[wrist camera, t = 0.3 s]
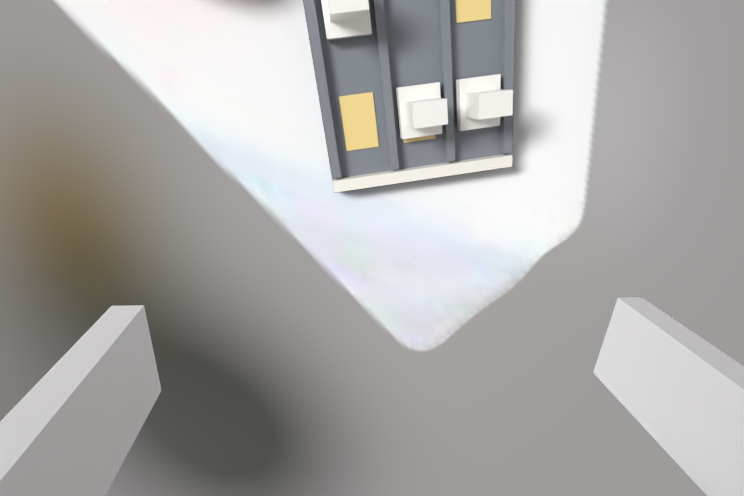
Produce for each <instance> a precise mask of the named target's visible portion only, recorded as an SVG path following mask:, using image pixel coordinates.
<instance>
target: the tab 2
mask: <svg viewBox="0 0 744 496" xmlns="http://www.w3.org/2000/svg"><path fill="white" fill-rule="evenodd" d="M396 95H397V106H398V117H399V128H400V138H401V139H408V138H415V137H422V136H429V135H436V134H442V125H445V124H448V110H447V99H446V98H441V96H440V82H435V83H427V84H420V85H412V86H405V87H397V88H396Z"/></svg>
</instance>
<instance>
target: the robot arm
mask: <svg viewBox="0 0 744 496" xmlns="http://www.w3.org/2000/svg"><path fill="white" fill-rule="evenodd" d="M594 374H595V375H596V376H597V377H598V378H599V379H600V380H601V382H602V383H603V384H604V385H605V386H606V387H607V388H608V389H609V390H610V391H611V392H612V393H613V394H614V396H615V397H616V398H617V399H618V400H619V401H620V402H621V403H622V404H623V405H624V406H625V407H626V408H627V409H628V411H629V412H630V413H631V414H632V415H633V416H634V417H635V418H636V419H637V420H638V421H639V423H640V424H641V425H642V426H643V427H644V428H645V429H646V430H647V431H648V432H649V433H650V434H651V435H652V437H653V438H654V439H655V440H656V441H657V442H658V443H659V444H660V445H661V446H662V447H663V448H664V449H665V451H666V452H667V453H668V454H669V455H670V456H671V457H672V458H673V459H674V460H675V461H676V462H677V463H678V465H679V466H680V467H681V468H682V469H683V470H684V471H685V472H686V473H687V474H688V475H689V476H690V478H692V480H693V481H694V482H695V483H696V484H697V485H698V486H699V487H700V488H701V489H702V490H703V491H704V493H705V494H706V495H707V496H744V366H743V365H741V364H740V363H738V362H737V361H735V360H734V359H732V358H731V357H729V356H728V355H726V354H725V353H723V352H722V351H720V350H719V349H718V348H716V347H714V346H713V345H712V344H710V343H709V342H707V341H706V340H704V339H702V338H701V337H700V336H698V335H697V334H695V333H694V332H692V331H691V330H689V329H688V328H686V327H685V326H683V325H682V324H680V323H679V322H678V321H676V320H674V319H673V318H672V317H670V316H669V315H667V314H666V313H664V312H663V311H661V310H660V309H658V308H657V307H655V306H654V305H652V304H651V303H649V302H648V301H646V300H645V299H643V298H642V297H632V298H631V297H626V298H618V299H617V302H616V305H615V308H614V311H613V314H612V317H611V321H610V323H609V326H608V329H607V332H606V335H605V338H604V342H603V345H602V348H601V351H600V354H599V357H598V360H597V363H596V366H595V369H594ZM160 392H161V387H160V381H159V377H158V372H157V367H156V362H155V357H154V352H153V347H152V343H151V338H150V333H149V328H148V323H147V318H146V314H145V309H144V305H140V306H111V307H110V308H109V309H108V310H107V311H106V312H105V313H104V315H102V317H100V319H99V320H98V321H97V322H96V323H95V324H94V325H93V326H92V327H91V328H90V329H89V330H88V331H87V332H86V333H85V334H84V335H83V336H82V337H81V338H80V339H79V340H78V341H77V342H76V344H75V345H74V346H73V347H72V348H71V349H70V350H69V351H68V352H67V353H66V354H65V355H64V356H63V357H62V358H61V359H60V360H59V361H58V362H57V363H56V364H55V365H54V366H53V367H52V368H51V370H50V371H49V372H48V373H47V374H46V375H45V376H44V377H43V378H42V379H41V380H40V381H39V382H38V383H37V384H36V385H35V386H34V387H33V388H32V389H31V390H30V391H29V392H28V393H27V395H26V396H24V398H23V399H22V400H21V401H20V402H19V403H18V404H17V405H16V406H15V407H14V408H13V409H12V410H11V411H10V412H9V413H8V414H7V415H6V416H5V417H4V418H3V419H2V420H1V422H0V496H105V495H106V493H107V491H108V489H109V487H110V485H111V484H112V482H113V480H114V478H115V476H116V474H117V472H118V470H119V469H120V467H121V464H122V463H123V461H124V459H125V457H126V455H127V454H128V452H129V450H130V448H131V446H132V444H133V442H134V441H135V439H136V437H137V435H138V433H139V431H140V429H141V427H142V425H143V424H144V422H145V420H146V418H147V416H148V414H149V412H150V411H151V409H152V407H153V405H154V403H155V401H156V399H157V398H158V396H159V394H160Z"/></svg>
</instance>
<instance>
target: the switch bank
mask: <svg viewBox="0 0 744 496" xmlns="http://www.w3.org/2000/svg"><path fill="white" fill-rule="evenodd" d="M368 1H369V11H370V20H371V29H372V34H371V35H366V36H358V37H350V38H343V39H335V40H327V38H326V31H325V24H324V17H323V11H322V4H321V0H303V3H304V9H305V15H306V22H307V28H308V34H309V40H310V46H311V52H312V58H313V64H314V70H315V77H316V83H317V89H318V95H319V101H320V107H321V113H322V119H323V125H324V132H325V138H326V144H327V150H328V156H329V162H330V168H331V174H332V179H333V187H334V193H337V192H344V191H351V190H357V189H364V188H371V187H378V186H385V185H391V184H398V183H405V182H412V181H419V180H425V179H432V178H439V177H446V176H453V175H459V174H466V173H473V172H480V171H487V170H493V169H500V168H507V167H512V155H510V154H508V153H512V146H513V115H510V116H502V117H500V126H493V127H486V128H479V129H472V130H465V131H459V130H457V107H456V80H457V79H465V78H472V77H480V76H487V75H495V74H501V86H500V89H504V90H513V98H514V49H515V0H368ZM435 82H440V96H441V98H446V99H447V110H448V124H445V125H442V134H436V135H429V136H422V137H415V138H408V139H401V138H400V128H399V117H398V106H397V95H396V88H397V87H405V86H412V85H420V84H427V83H435Z"/></svg>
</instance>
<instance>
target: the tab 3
mask: <svg viewBox="0 0 744 496" xmlns="http://www.w3.org/2000/svg"><path fill="white" fill-rule="evenodd" d="M500 86H501V74H495V75H487V76H480V77H472V78H465V79H457V80H456V107H457V130H459V131H465V130H472V129H479V128H486V127H493V126H500V117H502V116H510V115H513V90H504V89H500Z"/></svg>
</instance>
